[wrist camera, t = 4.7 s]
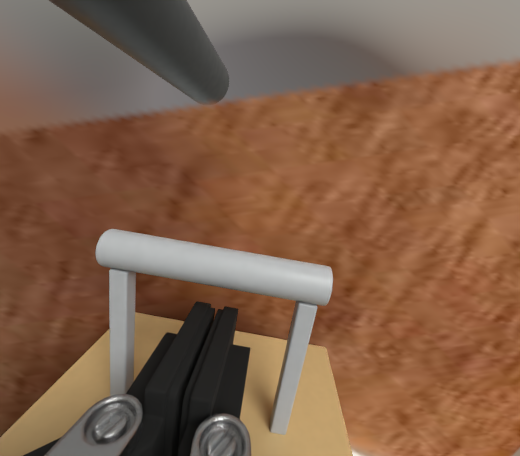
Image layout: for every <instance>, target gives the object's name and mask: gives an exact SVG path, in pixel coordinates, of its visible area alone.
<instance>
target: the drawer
mask: <svg viewBox="0 0 520 456" xmlns="http://www.w3.org/2000/svg"><path fill="white" fill-rule="evenodd" d="M96 259H97V262H98V263H99V264H100V265H101V266H105V267H110V268H111V269H110V271H109V313H110V329H109V330H108V331H107V332H106V333H105V334H104V335H103V336H102V337H101V338H100V339H99V340H98V341H97V342H96V343H95V344H94V345H93V346H92V347H91V348H90V349H89V350H88V351H87V352H86V353H85V354H84V355H83V356H82V357H81V358H80V359H79V360H78V361H77V362H76V363H75V364H74V365H73V366H72V367H71V368H70V369H68V370H67V371H66V372H65V373H64V374H63V375H62V376H61V377H60V378H59V379H58V380H57V381H56V382H55V383H54V384H53V385H52V386H51V387H50V388H49V389H48V390H47V391H46V392H45V393H44V394H43V395H42V396H41V397H40V398H39V399H38V400H37V401H36V402H35V403H34V404H33V405H32V406H31V407H30V408H29V409H28V410H27V411H26V412H25V413H24V414H23V415H22V416H21V417H20V418H19V419H18V420H17V421H16V422H15V423H14V424H13V425H12V426H11V427H10V428H9V429H8V430H7V431H6V432H5V433H4V434H3V435H2V436H1V437H0V456H23V455H25V454H27V453H29V452H31V451H33V450H35V449H38V448H40V447H42V446H44V445H46V444H48V443H50V442H52V441H54V440H56V439H58V438H60V437H62V436H63V435H64V434H65V433H66V432H67V431H68V430H69V429H70V428H71V427H72V426H73V425H74V424H75V423H76V422H77V420H78V419H79V418H80V417H81V416H82V415H83V414H84V413H85V412H86V411H87V410H88V409H89V408H90V407H92V406H93V405H94V404H95V403H97V402H98V401H100V400H102V399H104V398H106V397H109V396H112V395H115V394H126V393H127V391H128V390H129V388H130V387H131V385H132V383H133V382H134V380H135V379H136V377H137V376H138V374H139V373H140V371H141V370H142V368H143V367H144V365H145V364H146V362H147V361H148V359H149V358H150V356H151V354H152V353H153V351H154V350H155V348H156V347H157V345H158V344H159V342H160V341H161V339H162V338H163V336H164V335H165V334H166V333H167V332H169V333H175V334H177V333H178V332H179V330H180V328H181V327H182V325H183V323H184V321H180V320H174V319H169V318H163V317H158V316H153V315H147V314H142V313H136V312H135V292H136V272H138V273H144V274H149V275H155V276H161V277H166V278H172V279H177V280H183V281H189V282H194V283H200V284H205V285H211V286H217V287H222V288H228V289H233V290H239V291H245V292H250V293H256V294H261V295H267V296H273V297H278V298H284V299H289V300H295V301H296V303H295V308H294V313H293V317H292V322H291V326H290V331H289V335H288V340H283V339H278V338H272V337H267V336H261V335H256V334H251V333H245V332H240V331H235V334H234V341H233V344H234V345H239V346H244V347H250V348H251V349H250V356H249V362H248V369H247V375H246V382H245V388H244V395H243V401H242V408H241V414H240V420H241V421H242V422H243V423H244V424H245V426H246V428H247V430H248V432H249V435H250V441H251V456H353V455H352V451H351V447H350V443H349V439H348V435H347V430H346V426H345V422H344V418H343V414H342V410H341V406H340V402H339V398H338V394H337V390H336V386H335V382H334V378H333V374H332V370H331V366H330V362H329V358H328V354H327V349H326V347H321V346H316V345H311V344H308V343H309V339H310V335H311V331H312V327H313V323H314V319H315V315H316V311H317V305H323V306H324V305H326V304H327V303H328V301H329V299H330V296H331V292H332V285H333V275H332V270H331V268H330V267H329V266H324V265H318V264H313V263H307V262H301V261H295V260H290V259H284V258H278V257H272V256H267V255H261V254H255V253H249V252H244V251H238V250H232V249H226V248H221V247H215V246H209V245H203V244H198V243H192V242H186V241H180V240H175V239H169V238H163V237H157V236H152V235H146V234H140V233H134V232H128V231H123V230H117V229H110V230H107V231H106V232H104V233H103V234H102V236H101V237H100V239H99V241H98V243H97V246H96Z"/></svg>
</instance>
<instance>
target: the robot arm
mask: <svg viewBox="0 0 520 456" xmlns="http://www.w3.org/2000/svg"><path fill="white" fill-rule="evenodd" d="M214 313H215V308H211V304H209V303H203V302H198V301H197V302H196V303H195V304H194V306H193V308H192V310H191V311H190V313H189V315H188V316H187V318H186V320H185V321H184V323H183V325H182V327H181V328H180V330H179V332H178V333H177V334H175V333H169V332H167V333H166V334H165V335H164V336H163V338H162V339H161V341H160V342H159V344H158V345H157V347H156V348H155V350H154V351H153V353H152V354H151V356H150V358H149V359H148V361H147V362H146V364H145V365H144V367H143V368H142V370H141V371H140V373H139V374H138V376H137V377H136V379H135V380H134V382H133V383H132V385H131V387H130V388H129V390H128V391H127V393H126V394H115V395H112V396H109V397H106V398H104V399H102V400H100V401H98V402H97V403H95V404H94V405H93V406H92V407H90V408H89V409H88V410H87V411H86V412H85V413H84V414H83V415H82V416H81V417H80V418H79V419H78V420H77V422H76V423H75V424H74V425H73V426H72V427H71V428H70V429H69V430H68V431H67V432H66V433H65V434H64V435H63V436H62V437H60V438H58V439H56V440H54V441H52V442H50V443H48V444H46V445H44V446H42V447H40V448H38V449H35V450H33V451H31V452H29V453H27V454H25V455H23V456H251V441H250V435H249V432H248V430H247V428H246V426H245V424H244V423H243V422H242V421H241V420H240V414H241V408H242V401H243V395H244V388H245V382H246V375H247V369H248V362H249V356H250V349H251V348H250V347H244V346H239V345H234V344H233V341H234V334H235V328H236V321H237V314H238V309H236V308H231V307H224V309H223V310H220V309H218V312H217V314H216V317H215V319H214Z"/></svg>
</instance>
